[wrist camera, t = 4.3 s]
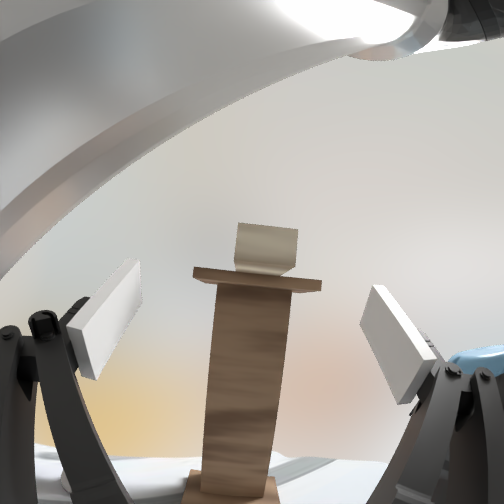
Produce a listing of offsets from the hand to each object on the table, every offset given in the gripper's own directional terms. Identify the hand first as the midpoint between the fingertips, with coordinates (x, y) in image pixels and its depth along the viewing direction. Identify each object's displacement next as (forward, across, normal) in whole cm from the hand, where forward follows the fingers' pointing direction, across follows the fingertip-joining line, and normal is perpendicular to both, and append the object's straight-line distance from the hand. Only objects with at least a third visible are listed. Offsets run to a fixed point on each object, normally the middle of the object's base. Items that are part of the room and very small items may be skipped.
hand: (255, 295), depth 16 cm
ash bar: (+12, +1, -5) cm, 13 cm away
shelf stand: (0, +1, -32) cm, 32 cm away
